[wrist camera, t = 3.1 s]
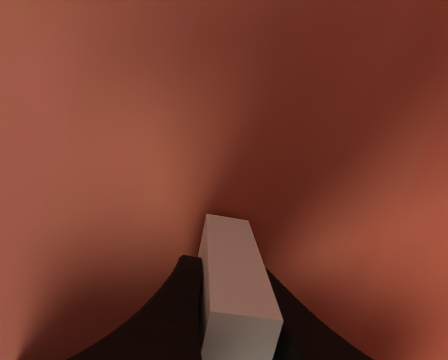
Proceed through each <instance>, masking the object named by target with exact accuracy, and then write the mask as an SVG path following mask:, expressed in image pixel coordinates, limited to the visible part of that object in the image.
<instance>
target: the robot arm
mask: <svg viewBox="0 0 448 360" xmlns="http://www.w3.org/2000/svg"><path fill="white" fill-rule="evenodd" d="M265 269H266V268H265ZM266 272H267V275H268V278H269V281H270V284H271V286H272V289H273V292H274V295H275V298H276V301H277V303H278V306H279V309H280V312H281V315H282V318H283V324H282V328H281V331H280V335H279V338H278V342H277V345H276V348H275V352H274V355H273V359H272V360H373V359H372V358H370V357H368V356H367V355H365V354H364V353H362V352H361V351H359V350H358V349H357V348H355V347H354V346H352V345H351V344H350V343H348V342H347V341H346V340H344V339H343V338H342V337H340V336H339V335H338V334H336V333H335V332H334V331H332V330H331V329H330V328H329V327H327V326H326V325H325V324H324V323H323V322H322V321H320V320H319V319H318V318H317V317H316V316H315V315H314V314H312V313H311V312H310V311H309V310H308V309H307V308H306V307H305V306H304V305H303V304H302V303H300V302H299V301H298V300H297V299H296V298H295V297H294V296H293V295H292V294H291V293H290V292H289V291H288V290H287V289H286V288H285V287H284V286H283V285H282V284H281V283H280V282H279V281H278V280H277V278H276V277H275V276H274V275H273V274H272V273H270V272H269V271H268V270H267V269H266ZM202 273H203V263H202V258H200V257H193V256H187V255H183V256H181V257H179V261H178V263H177V265H176V267H175V268H174V270H173V272H172V273H171V275H170V276H169V277H168V279H167V280H166V281H165V283H164V284H163V285H162V287H161V288H160V289H159V290H158V291H157V292H156V293H155V294H154V296H153V297H152V298H151V299H150V300H149V301H148V302H147V303H146V304H145V305H144V306H143V307H142V308H141V309H140V310H139V311H138V312H137V313H135V314H134V315H133V316H132V317H131V318H130V319H128V320H127V321H126V322H125V323H123V324H122V325H121V326H119V327H118V328H117V329H116V330H114V331H113V332H112V333H110V334H109V335H107V336H106V337H104V338H103V339H101V340H100V341H98V342H96V343H95V344H93V345H92V346H90V347H88V348H87V349H85V350H83V351H82V352H80V353H78V354H77V355H75V356H73V357H71V358H69V359H67V360H202V356H201V348H200V337H199V323H198V300H199V293H200V286H201V280H202Z"/></svg>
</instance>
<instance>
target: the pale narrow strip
mask: <svg viewBox="0 0 448 360" xmlns="http://www.w3.org/2000/svg"><path fill="white" fill-rule="evenodd" d="M198 257H200V258H202V263H203V273H202V280H201V286H200V293H199V300H198V323H199V337H200V348H201V356H202V360H272V359H273V355H274V352H275V348H276V345H277V342H278V338H279V335H280V331H281V328H282V324H283V318H282V315H281V312H280V309H279V306H278V303H277V301H276V298H275V295H274V292H273V289H272V286H271V284H270V281H269V278H268V275H267V272H266V269H265V267H264V264H263V261H262V258H261V255H260V252H259V249H258V247H257V244H256V241H255V238H254V235H253V232H252V230H251V227H250V224H249V221H248V220H243V219H236V218H230V217H224V216H218V215H212V214H206V219H205V224H204V229H203V234H202V239H201V244H200V249H199V254H198Z"/></svg>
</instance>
